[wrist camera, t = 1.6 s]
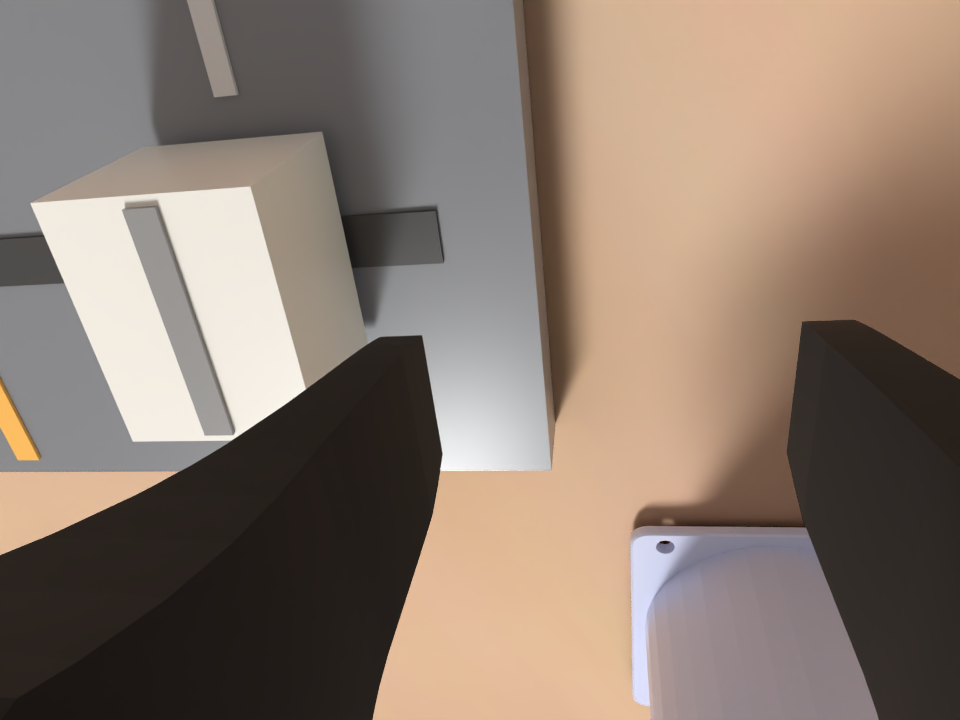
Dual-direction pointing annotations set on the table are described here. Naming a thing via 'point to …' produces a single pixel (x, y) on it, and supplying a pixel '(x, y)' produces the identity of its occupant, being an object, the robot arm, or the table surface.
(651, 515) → the table surface
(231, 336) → the fader tab
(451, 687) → the table surface
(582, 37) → the table surface
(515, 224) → the console board
